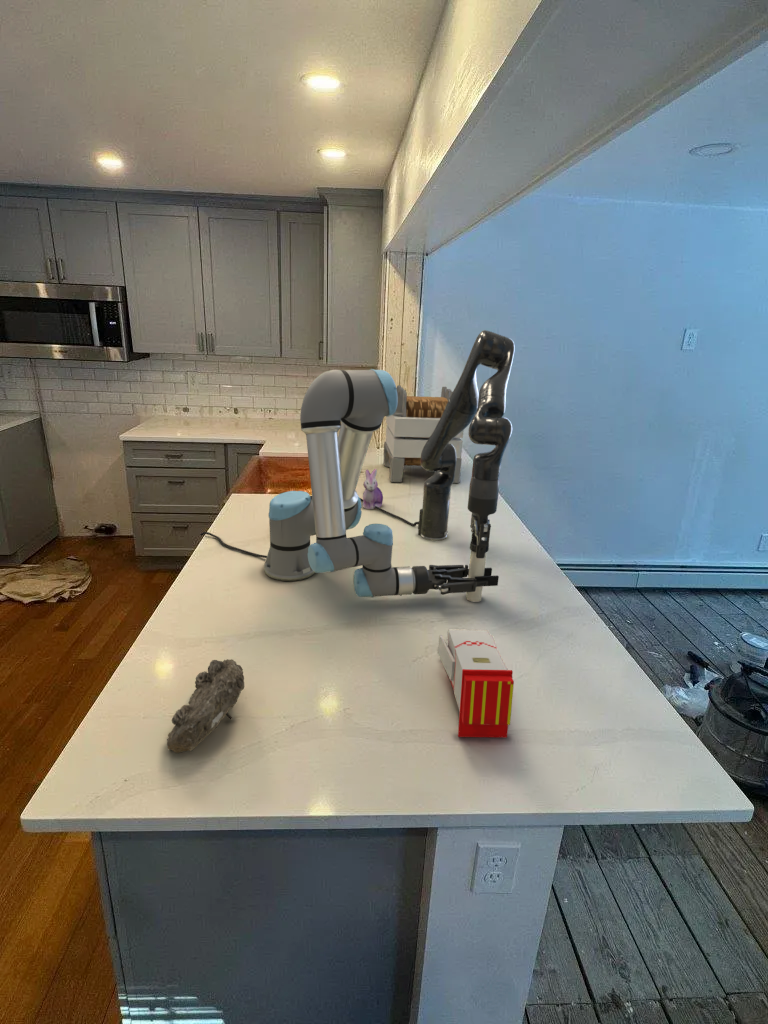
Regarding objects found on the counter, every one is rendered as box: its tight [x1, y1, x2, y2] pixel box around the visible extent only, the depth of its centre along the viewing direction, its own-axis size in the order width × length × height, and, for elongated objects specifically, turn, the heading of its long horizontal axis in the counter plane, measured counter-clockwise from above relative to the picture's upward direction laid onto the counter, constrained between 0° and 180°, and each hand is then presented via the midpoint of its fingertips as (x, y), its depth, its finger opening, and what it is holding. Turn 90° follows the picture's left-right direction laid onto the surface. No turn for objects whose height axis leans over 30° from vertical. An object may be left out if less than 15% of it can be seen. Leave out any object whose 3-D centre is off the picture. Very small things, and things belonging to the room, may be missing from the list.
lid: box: [469, 539, 490, 553], centre depth 152 cm, size 5×5×2 cm
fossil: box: [166, 658, 245, 754], centre depth 106 cm, size 22×10×15 cm
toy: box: [437, 628, 515, 738], centre depth 117 cm, size 12×13×30 cm
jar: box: [465, 550, 488, 603], centre depth 155 cm, size 4×4×16 cm
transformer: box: [383, 384, 465, 484], centre depth 268 cm, size 34×33×41 cm
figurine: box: [361, 468, 384, 510], centre depth 224 cm, size 9×10×15 cm
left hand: (494, 576), depth 156 cm, fingers closed on jar, 4 cm apart
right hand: (477, 551), depth 152 cm, fingers open, 7 cm apart
